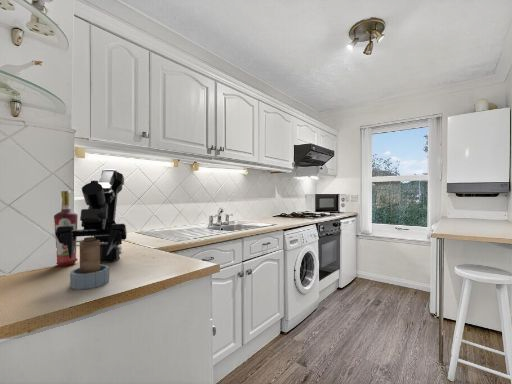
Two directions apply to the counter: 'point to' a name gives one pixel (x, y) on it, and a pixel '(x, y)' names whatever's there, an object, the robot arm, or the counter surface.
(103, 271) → the blue segmented ring
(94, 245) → the pepper mill
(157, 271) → the counter surface
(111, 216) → the robot arm
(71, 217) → the liquor
